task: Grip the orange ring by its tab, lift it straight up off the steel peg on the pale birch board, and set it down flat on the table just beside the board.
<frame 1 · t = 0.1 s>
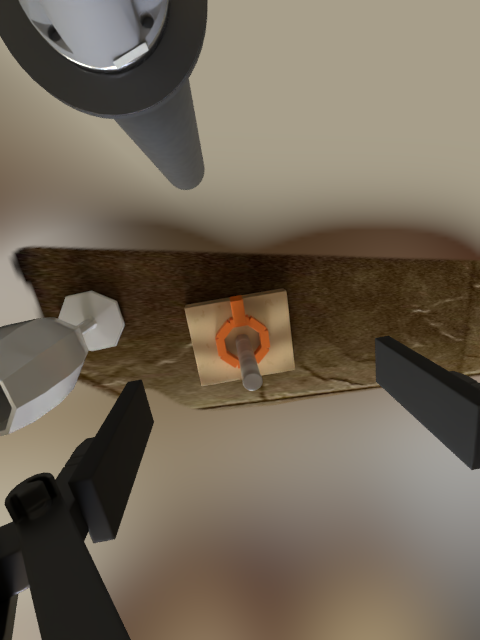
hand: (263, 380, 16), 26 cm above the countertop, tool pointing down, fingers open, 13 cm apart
board: (241, 335, 43), on the countertop
ring: (242, 340, 41), point 2 cm above the countertop, touching board
wineglass: (94, 320, 40), on the countertop
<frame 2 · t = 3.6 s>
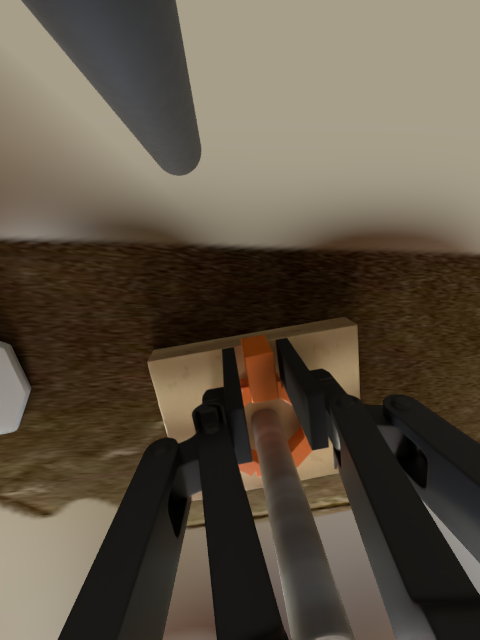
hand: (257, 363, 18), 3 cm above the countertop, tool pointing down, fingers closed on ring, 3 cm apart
board: (261, 404, 22), on the countertop
ring: (265, 420, 21), point 2 cm above the countertop, touching board, gripper
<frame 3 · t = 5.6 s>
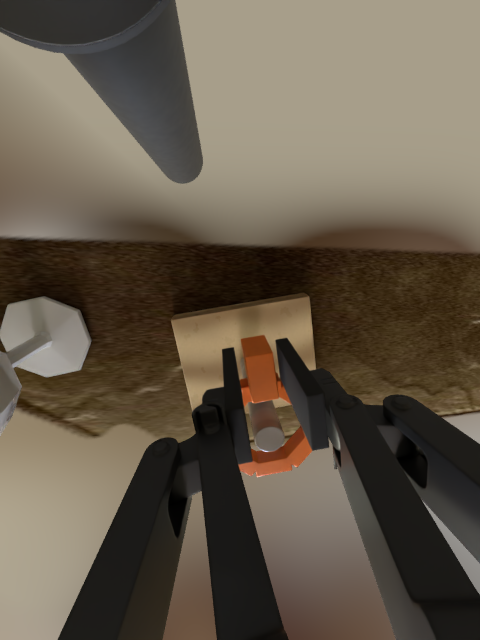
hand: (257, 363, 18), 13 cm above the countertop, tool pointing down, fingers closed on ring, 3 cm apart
board: (247, 355, 32), on the countertop
ring: (265, 420, 21), point 12 cm above the countertop, touching gripper
wineglass: (50, 335, 30), on the countertop
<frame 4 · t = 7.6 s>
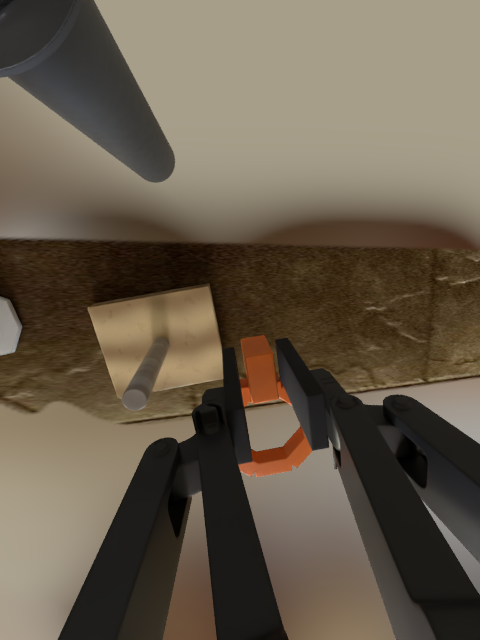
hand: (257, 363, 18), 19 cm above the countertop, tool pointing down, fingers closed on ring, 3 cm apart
board: (164, 338, 37), on the countertop
ring: (265, 420, 21), point 18 cm above the countertop, touching gripper
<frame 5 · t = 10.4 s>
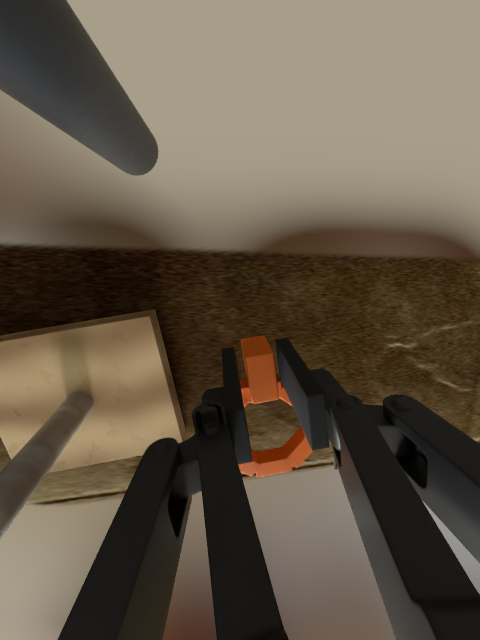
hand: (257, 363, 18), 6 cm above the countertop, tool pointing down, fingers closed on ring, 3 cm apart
board: (91, 389, 25), on the countertop
ring: (265, 420, 21), point 5 cm above the countertop, touching gripper
when the fingers open (1 cm above the countertop, at t = 11.9 s): ring stays where it is, on the countertop.
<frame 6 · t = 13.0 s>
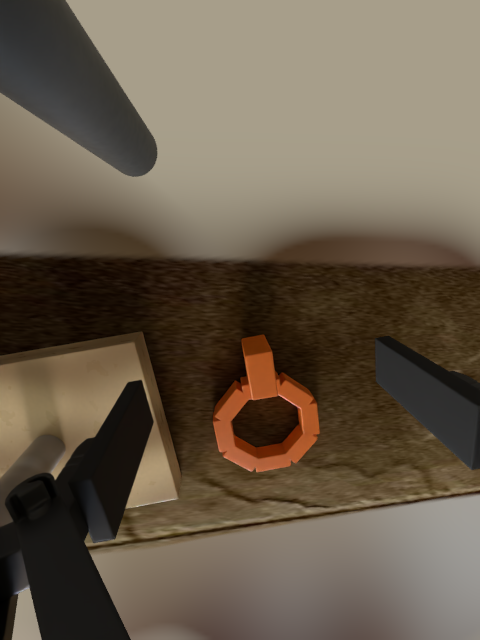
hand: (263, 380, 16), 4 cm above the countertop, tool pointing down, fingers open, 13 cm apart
board: (65, 427, 20), on the countertop
ring: (264, 417, 21), on the countertop
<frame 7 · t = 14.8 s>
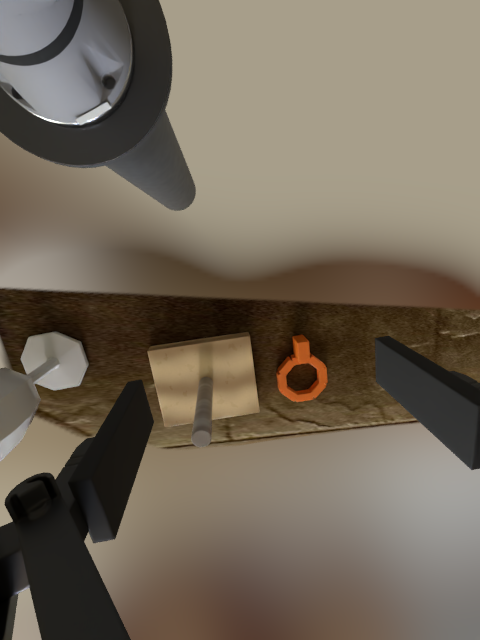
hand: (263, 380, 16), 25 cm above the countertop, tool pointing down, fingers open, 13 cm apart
board: (206, 376, 43), on the countertop
ring: (300, 375, 44), on the countertop
wineglass: (58, 359, 40), on the countertop
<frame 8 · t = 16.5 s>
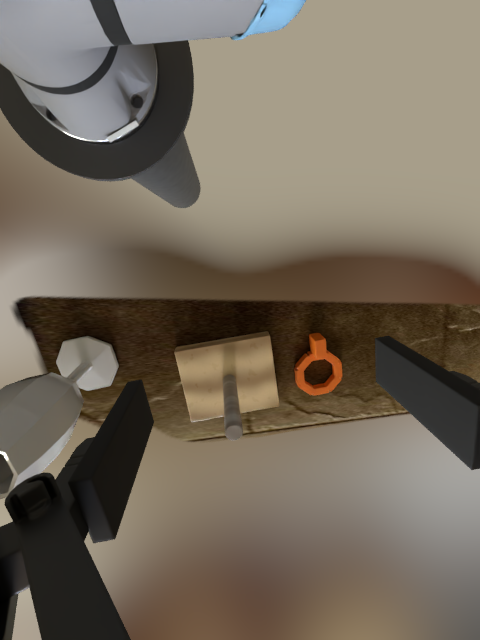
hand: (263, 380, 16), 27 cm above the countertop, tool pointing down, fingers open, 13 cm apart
board: (228, 374, 45), on the countertop
ring: (316, 370, 46), on the countertop
wineglass: (90, 361, 43), on the countertop
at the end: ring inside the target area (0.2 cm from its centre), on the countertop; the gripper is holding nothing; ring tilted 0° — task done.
